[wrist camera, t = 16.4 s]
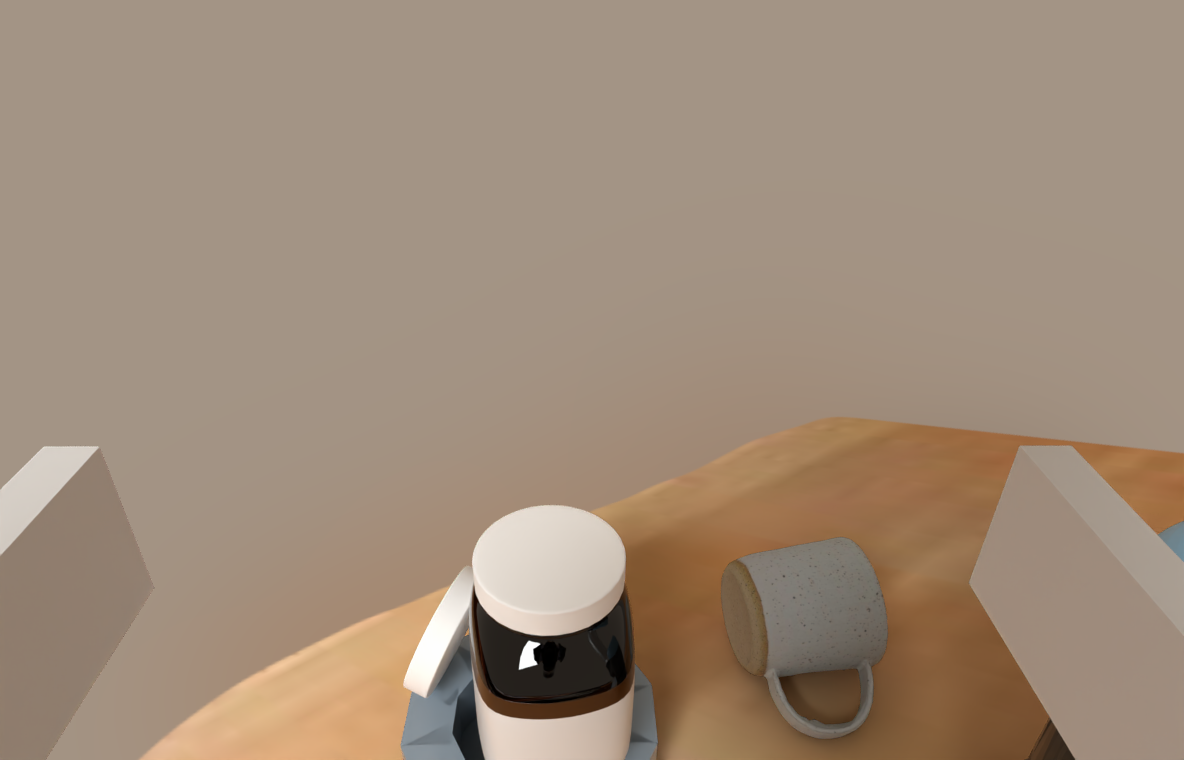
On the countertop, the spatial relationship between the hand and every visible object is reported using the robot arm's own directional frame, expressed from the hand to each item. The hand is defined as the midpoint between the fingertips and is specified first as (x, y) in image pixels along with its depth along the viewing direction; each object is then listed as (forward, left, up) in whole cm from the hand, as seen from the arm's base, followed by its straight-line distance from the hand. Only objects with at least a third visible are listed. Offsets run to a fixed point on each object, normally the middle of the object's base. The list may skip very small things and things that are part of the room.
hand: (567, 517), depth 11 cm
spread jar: (+3, -17, -28) cm, 33 cm away
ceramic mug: (-15, -23, -32) cm, 42 cm away
